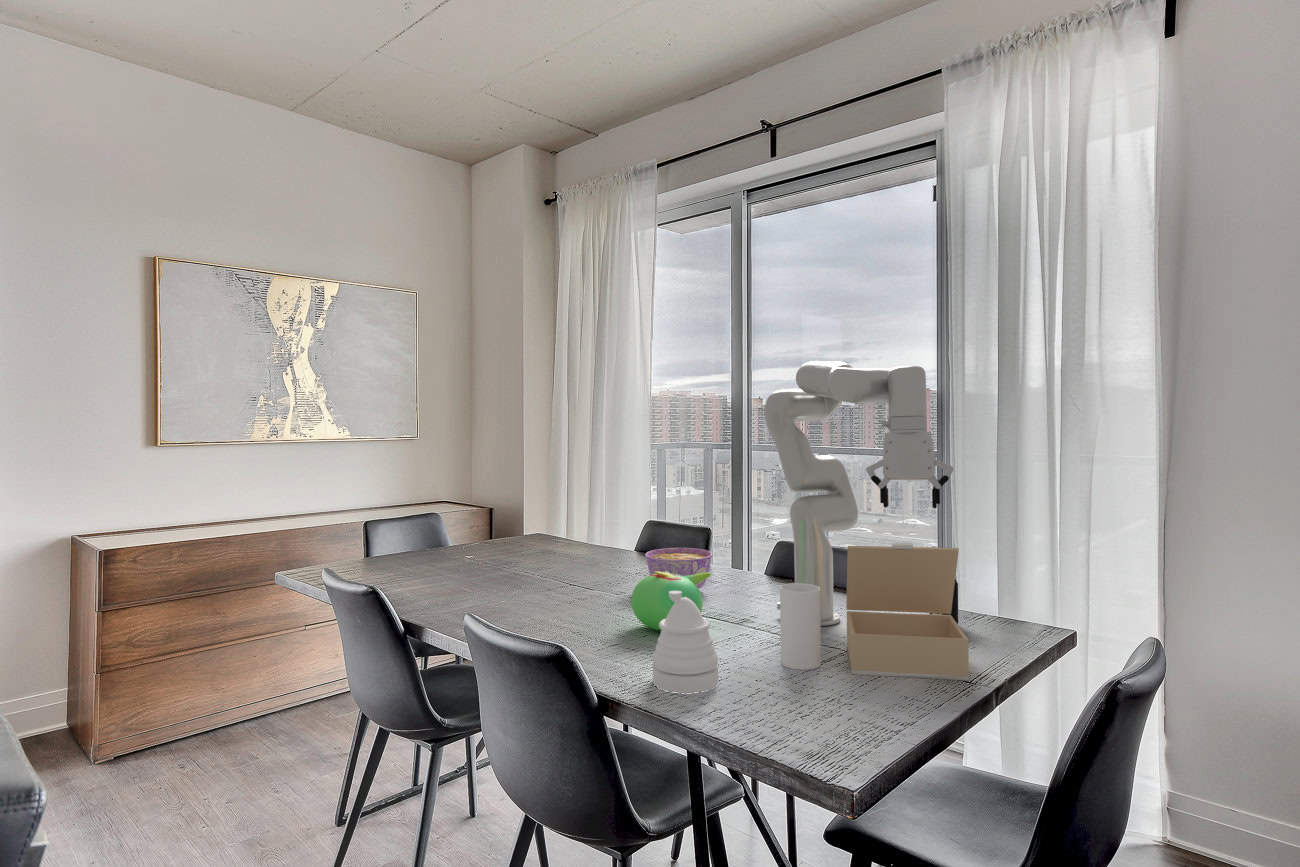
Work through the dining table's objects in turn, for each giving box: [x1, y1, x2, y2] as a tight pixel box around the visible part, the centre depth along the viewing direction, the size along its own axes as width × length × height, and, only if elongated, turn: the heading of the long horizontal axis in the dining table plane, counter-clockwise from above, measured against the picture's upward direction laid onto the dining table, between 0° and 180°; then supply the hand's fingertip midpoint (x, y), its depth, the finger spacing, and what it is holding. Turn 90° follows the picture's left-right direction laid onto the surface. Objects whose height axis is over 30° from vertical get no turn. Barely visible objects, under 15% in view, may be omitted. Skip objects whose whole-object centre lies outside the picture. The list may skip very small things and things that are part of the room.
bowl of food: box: [644, 547, 713, 590], centre depth 219 cm, size 20×20×12 cm
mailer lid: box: [845, 542, 959, 614], centre depth 159 cm, size 22×19×1 cm
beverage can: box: [928, 576, 959, 625], centre depth 181 cm, size 7×7×12 cm
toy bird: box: [630, 571, 712, 632], centre depth 181 cm, size 18×17×15 cm
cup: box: [779, 582, 822, 671], centre depth 155 cm, size 8×8×16 cm
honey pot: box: [652, 591, 719, 693], centre depth 145 cm, size 13×13×18 cm
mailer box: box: [846, 610, 970, 682], centre depth 154 cm, size 22×18×8 cm
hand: (910, 507), depth 154 cm, fingers open, 9 cm apart
